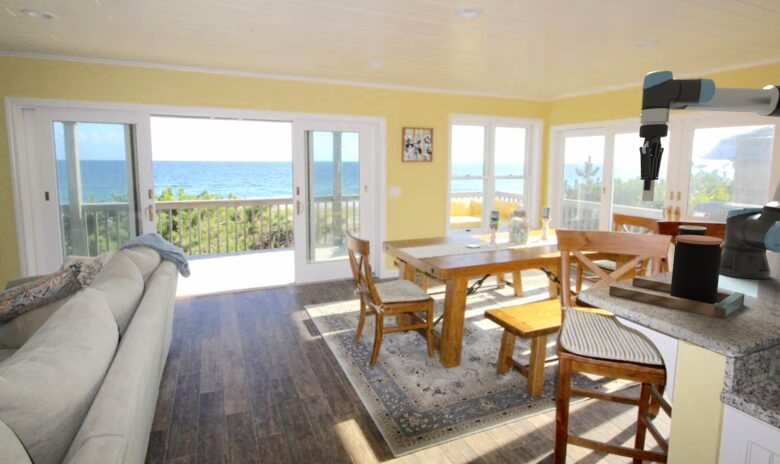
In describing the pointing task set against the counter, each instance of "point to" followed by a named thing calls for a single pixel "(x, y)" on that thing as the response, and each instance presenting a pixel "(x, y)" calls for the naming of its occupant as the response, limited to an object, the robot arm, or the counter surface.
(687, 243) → the coffee jar
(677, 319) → the counter surface
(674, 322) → the counter surface
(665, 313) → the counter surface
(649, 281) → the bay
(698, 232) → the travel mug
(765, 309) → the counter surface
